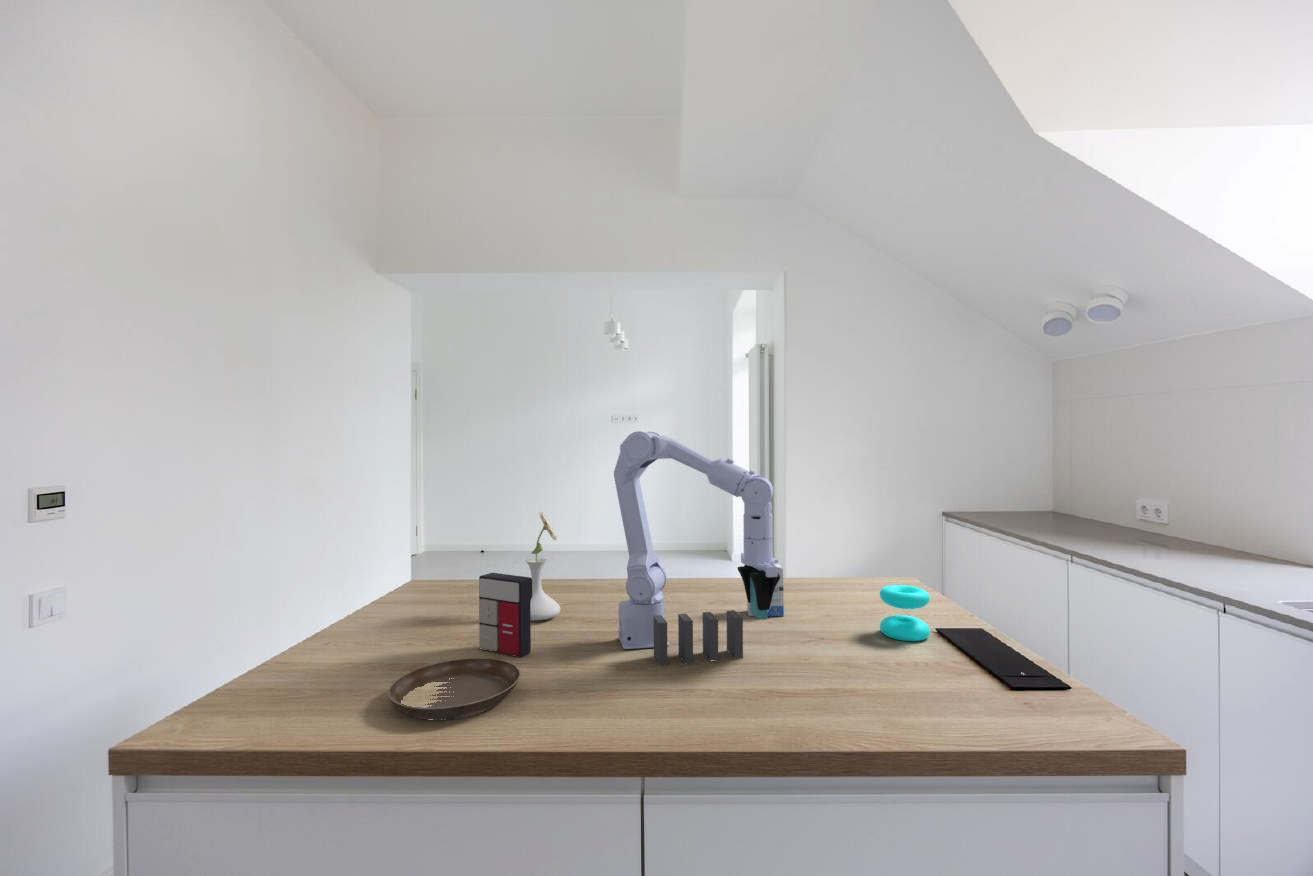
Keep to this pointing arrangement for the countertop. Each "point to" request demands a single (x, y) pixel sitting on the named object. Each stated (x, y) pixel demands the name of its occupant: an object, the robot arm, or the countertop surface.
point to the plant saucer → (458, 687)
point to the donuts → (902, 624)
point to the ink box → (775, 597)
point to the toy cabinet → (505, 613)
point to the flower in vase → (540, 601)
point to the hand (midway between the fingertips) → (758, 605)
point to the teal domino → (755, 604)
